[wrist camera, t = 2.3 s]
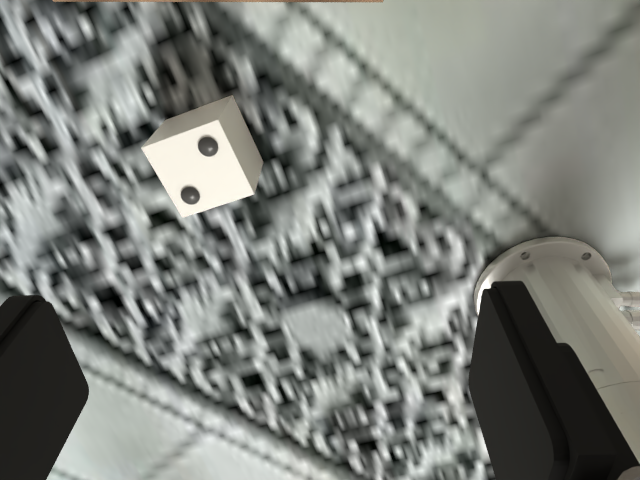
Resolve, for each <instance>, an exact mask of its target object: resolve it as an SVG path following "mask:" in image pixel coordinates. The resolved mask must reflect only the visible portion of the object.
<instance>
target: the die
mask: <svg viewBox="0 0 640 480" xmlns="http://www.w3.org/2000/svg"><path fill="white" fill-rule="evenodd" d="M142 150H143V152H144V153H145V155H146V157H147V158H148V160H149V162H150V163H151V165H152V167H153V169H154V170H155V172H156V174H157V175H158V177H159V179H160V180H161V182H162V184H163V185H164V187H165V189H166V191H167V192H168V194H169V196H170V197H171V199H172V201H173V202H174V204H175V206H176V208H177V209H178V211H179V213H180V214H181V216H182V218H183V217H186V216H190V215H193V214H196V213H199V212H202V211H205V210H208V209H211V208H214V207H217V206H220V205H223V204H226V203H229V202H232V201H235V200H238V199H241V198H244V197H247V196H250V195H253V194H254V193H255V190H256V186H257V183H258V179H259V176H260V172H261V169H262V165H263V160H262V158H261V156H260V154H259V151H258V149H257V147H256V145H255V143H254V140H253V138H252V136H251V134H250V132H249V130H248V127H247V125H246V123H245V121H244V119H243V116H242V114H241V112H240V110H239V108H238V106H237V103H236V101H235V99H234V97H233V95H231V96H228V97H225V98H223V99H220V100H217V101H215V102H212V103H209V104H207V105H204V106H201V107H199V108H196V109H193V110H191V111H188V112H185V113H183V114H180V115H177V116H175V117H172V118H169V119H167V120H165V121H164V122H163V123H162V124H161V126H160V127H159V128H158V129H157V130H156V131H155V133H154V134H153V135H152V136H151V137H150V138H149V139H148V141H147V142H146V143H145V144H144V145H143V146H142Z"/></svg>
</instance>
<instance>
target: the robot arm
mask: <svg viewBox="0 0 640 480" xmlns="http://www.w3.org/2000/svg"><path fill="white" fill-rule="evenodd" d="M474 306H475V310H476V313H477V315H478V321H477V327H476V334H475V340H474V347H473V353H472V359H471V366H470V372H469V389H470V394H471V397H472V401H473V404H474V407H475V410H476V414H477V417H478V420H479V424H480V427H481V430H482V434H483V437H484V440H485V444H486V447H487V450H488V454H489V457H490V460H491V464H492V467H493V470H494V474H495V477H496V480H640V336H639V335H638V334H637V332H636V331H635V330H639V331H640V310H624V311H620V310H619V308H620V306H628V307H640V292H619V291H618V290H616V289H615V288H614V287H613V285H612V278H611V272H610V269H609V266H608V265H607V263H606V262H605V260H604V259H603V257H602V256H601V255H600V254H599V253H598V252H597V251H596V250H595V249H594V248H592V247H591V246H589V245H588V244H586V243H584V242H581V241H579V240H576V239H572V238H566V237H544V238H538V239H533V240H530V241H527V242H523V243H521V244H519V245H517V246H514V247H512V248H510V249H509V250H507V251H505V252H504V253H502V254H501V255H499V256H498V257H497V258H496V259H495V260H494V261H492V262H491V263H490V264H489V265H488V267H487V268H486V269H485V270H484V272H483V273H482V274H481V276H480V278H479V280H478V282H477V284H476V288H475V292H474ZM88 394H89V387H88V384H87V381H86V379H85V377H84V375H83V372H82V370H81V368H80V366H79V363H78V361H77V359H76V357H75V354H74V352H73V350H72V348H71V345H70V343H69V341H68V339H67V336H66V334H65V332H64V330H63V327H62V325H61V323H60V321H59V318H58V316H57V314H56V312H55V310H54V307H53V306H52V304H51V303H50V302H46V301H45V299H44V298H43V297H42V296H39V295H28V296H12V297H9V298H8V299H7V300H5V302H4V303H3V304H2V305H1V306H0V480H46V479H47V477H48V475H49V473H50V471H51V469H52V467H53V465H54V463H55V461H56V459H57V458H58V456H59V454H60V452H61V450H62V448H63V446H64V444H65V442H66V440H67V438H68V436H69V434H70V432H71V431H72V429H73V427H74V425H75V423H76V421H77V419H78V417H79V415H80V413H81V411H82V409H83V407H84V405H85V404H86V401H87V399H88Z"/></svg>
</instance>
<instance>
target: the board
mask: <svg viewBox="0 0 640 480" xmlns="http://www.w3.org/2000/svg"><path fill="white" fill-rule="evenodd" d="M53 1H79V2H383V0H53Z"/></svg>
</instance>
